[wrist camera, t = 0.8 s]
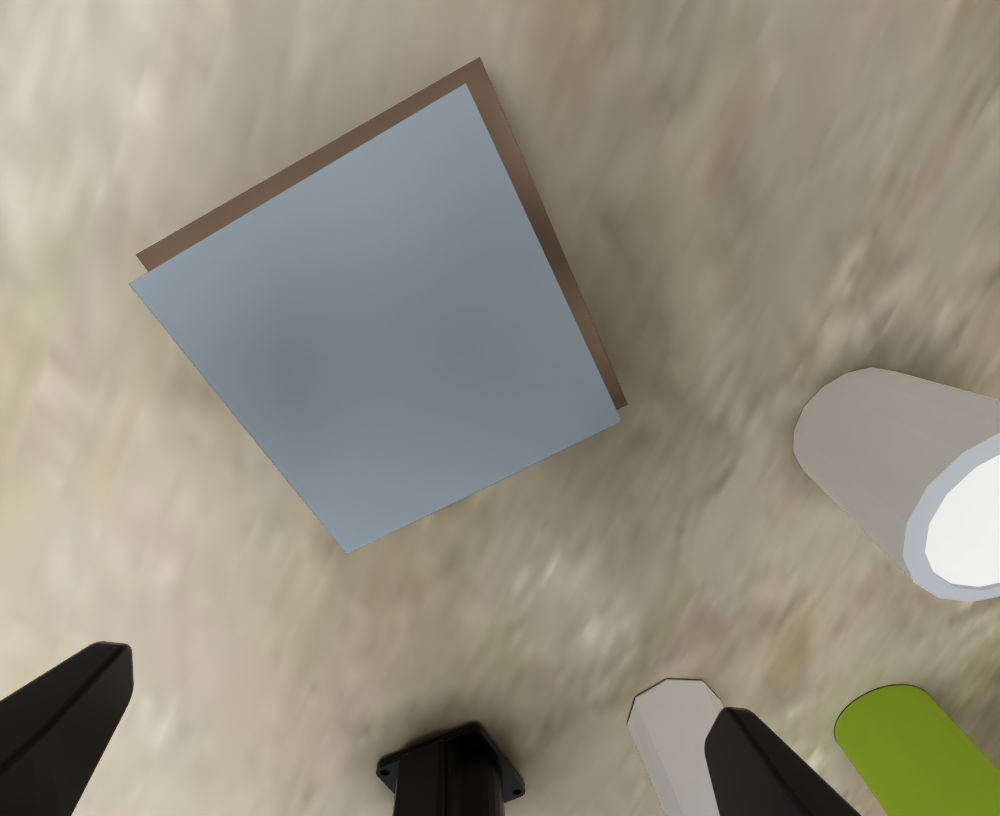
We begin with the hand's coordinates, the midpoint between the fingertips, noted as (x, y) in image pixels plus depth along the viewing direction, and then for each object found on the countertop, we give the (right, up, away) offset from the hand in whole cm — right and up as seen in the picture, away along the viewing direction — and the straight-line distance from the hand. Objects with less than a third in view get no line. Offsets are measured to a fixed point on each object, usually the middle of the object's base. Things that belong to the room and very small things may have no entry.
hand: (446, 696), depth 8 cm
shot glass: (+17, +4, +15) cm, 23 cm away
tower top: (-2, +7, +9) cm, 12 cm away
